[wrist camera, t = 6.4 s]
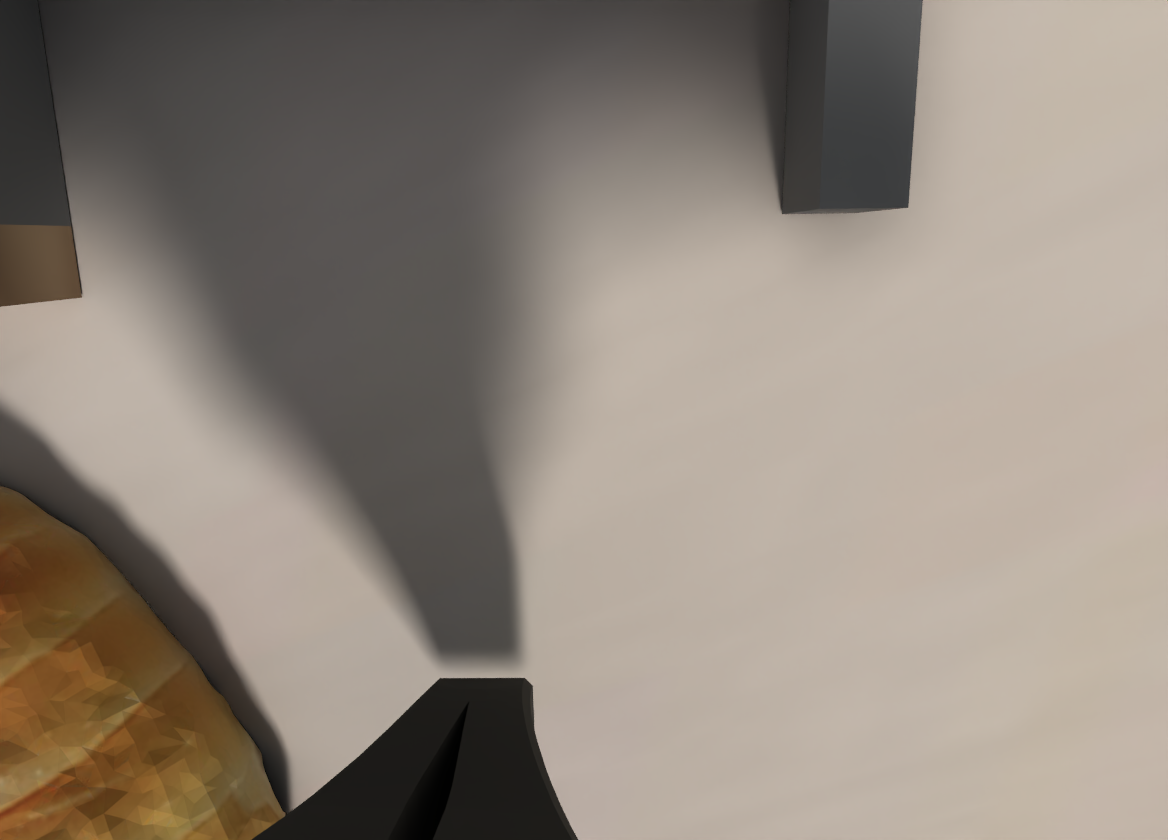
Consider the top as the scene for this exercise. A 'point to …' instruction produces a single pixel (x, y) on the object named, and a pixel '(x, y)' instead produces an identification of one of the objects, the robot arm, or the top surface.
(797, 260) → the top surface
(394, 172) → the top surface
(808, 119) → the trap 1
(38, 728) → the pastry
